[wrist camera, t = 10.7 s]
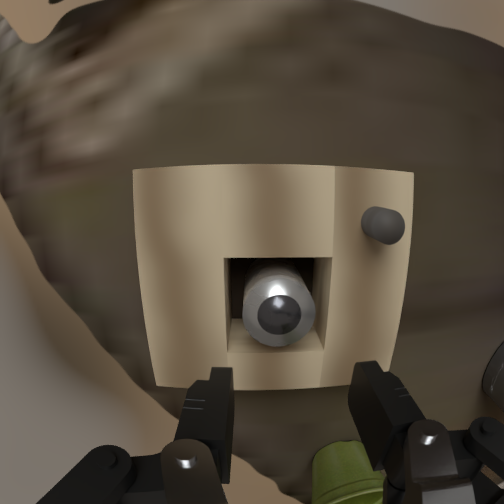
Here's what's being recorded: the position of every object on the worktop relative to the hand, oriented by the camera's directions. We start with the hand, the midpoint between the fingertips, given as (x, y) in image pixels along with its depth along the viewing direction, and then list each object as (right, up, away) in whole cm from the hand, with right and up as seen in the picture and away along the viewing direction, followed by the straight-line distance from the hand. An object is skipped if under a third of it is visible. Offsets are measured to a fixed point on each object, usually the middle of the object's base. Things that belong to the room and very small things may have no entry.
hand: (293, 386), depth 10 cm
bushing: (0, +3, +12) cm, 12 cm away
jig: (0, +4, +12) cm, 12 cm away
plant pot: (+8, -18, +17) cm, 26 cm away
